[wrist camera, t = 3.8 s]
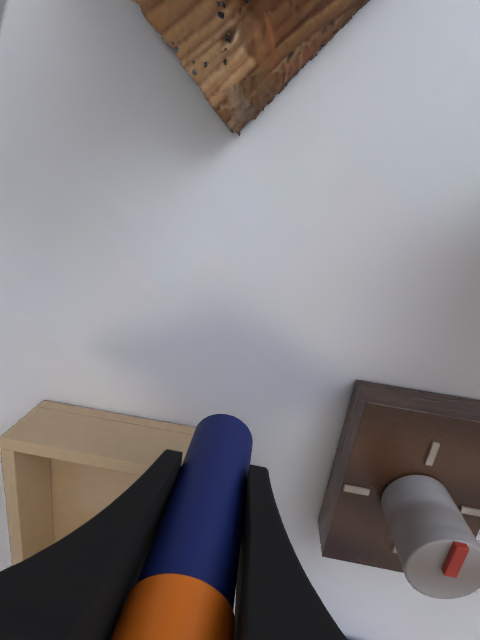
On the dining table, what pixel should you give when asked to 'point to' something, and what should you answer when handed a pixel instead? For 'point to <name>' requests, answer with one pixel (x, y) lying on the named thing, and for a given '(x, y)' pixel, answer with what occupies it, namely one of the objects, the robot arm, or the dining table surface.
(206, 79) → the bird sculpture
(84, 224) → the dining table surface
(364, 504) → the block
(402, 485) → the grey dial knob
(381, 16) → the dining table surface
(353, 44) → the dining table surface
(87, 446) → the open wooden box
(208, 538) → the marker
